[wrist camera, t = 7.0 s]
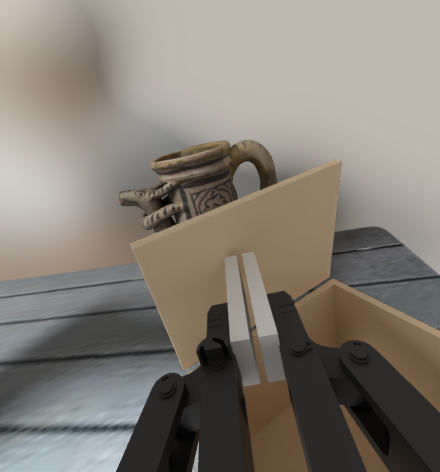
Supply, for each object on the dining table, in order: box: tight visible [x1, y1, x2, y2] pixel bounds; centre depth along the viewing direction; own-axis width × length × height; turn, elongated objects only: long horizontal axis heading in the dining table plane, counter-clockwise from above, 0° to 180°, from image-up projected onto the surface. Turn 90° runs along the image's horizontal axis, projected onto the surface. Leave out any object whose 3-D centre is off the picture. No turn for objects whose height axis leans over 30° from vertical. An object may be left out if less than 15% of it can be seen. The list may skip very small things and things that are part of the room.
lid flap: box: [130, 160, 342, 371], centre depth 18 cm, size 15×11×1 cm
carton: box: [184, 279, 440, 472], centre depth 18 cm, size 16×14×12 cm
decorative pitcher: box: [119, 140, 277, 233], centre depth 38 cm, size 22×18×25 cm
